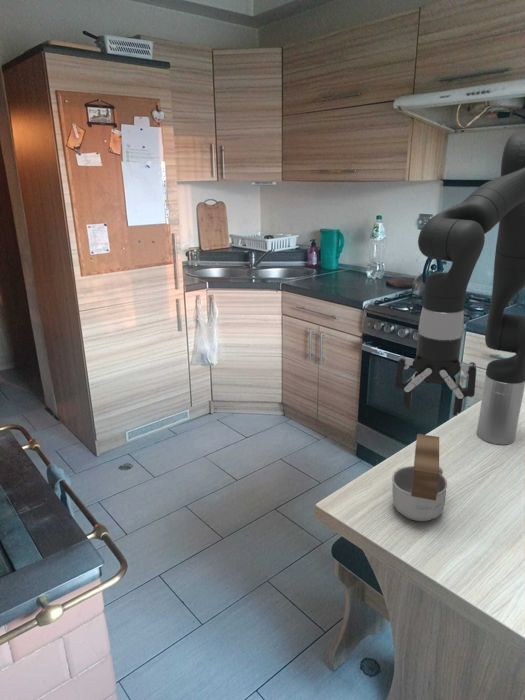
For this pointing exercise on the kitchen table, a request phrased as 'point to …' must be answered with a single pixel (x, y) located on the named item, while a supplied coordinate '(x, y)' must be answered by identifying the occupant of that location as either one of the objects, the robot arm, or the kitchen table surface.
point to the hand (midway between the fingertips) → (431, 410)
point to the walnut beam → (426, 467)
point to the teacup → (413, 505)
